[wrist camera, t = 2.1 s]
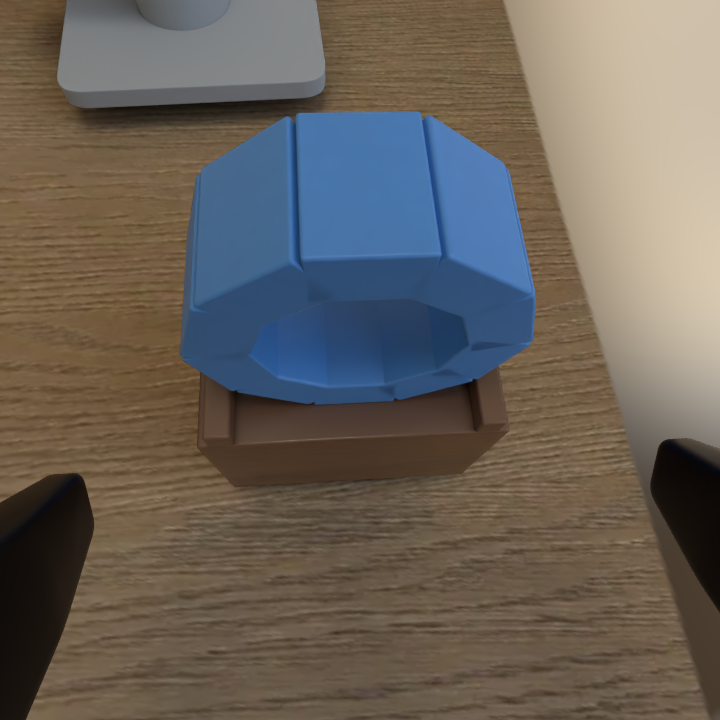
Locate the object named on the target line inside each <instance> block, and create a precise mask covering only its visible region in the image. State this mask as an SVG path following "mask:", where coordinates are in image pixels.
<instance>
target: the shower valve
mask: <svg viewBox="0 0 720 720" xmlns="http://www.w3.org/2000/svg"><path fill="white" fill-rule="evenodd" d="M57 80H58V83H59V85H60V87H61V89H62V91H63V93H64V95H65V97H66V99H67V101H68V102H69V103H70V104H71V105H73V106H76V107H80V108H105V107H126V106H147V105H169V104H190V103H211V102H232V101H253V100H274V99H295V98H308V97H313V96H316V95H318V94H319V93H321V92H322V91H323V89H324V86H325V59H324V52H323V45H322V38H321V32H320V25H319V18H318V11H317V4H316V0H67V3H66V10H65V18H64V26H63V33H62V41H61V48H60V56H59V64H58V71H57Z"/></svg>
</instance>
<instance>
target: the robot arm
mask: <svg viewBox="0 0 720 720" xmlns="http://www.w3.org/2000/svg"><path fill="white" fill-rule="evenodd" d="M650 488H651V494H652V497H653V499H654V501H655V503H656V505H657V507H658V508H659V510H660V512H661V514H662V516H663V518H664V519H665V521H666V523H667V525H668V527H669V529H670V530H671V532H672V534H673V536H674V538H675V539H676V541H677V543H678V545H679V547H680V549H681V551H682V552H683V554H684V556H685V558H686V560H687V561H688V563H689V565H690V567H691V569H692V570H693V572H694V574H695V576H696V577H697V579H698V581H699V582H700V584H701V585H702V587H703V588H704V590H705V592H706V593H707V594H708V596H709V597H710V599H711V601H712V602H713V603H714V605H715V607H716V608H717V610H718V611H719V612H720V449H719V448H716V447H713V446H710V445H707V444H704V443H701V442H699V441H696V440H693V439H688V438H682V439H668V440H665V441H663V442H662V443H661V444H660V445H659V448H658V451H657V456H656V460H655V464H654V469H653V474H652V478H651V483H650ZM93 530H94V518H93V514H92V510H91V506H90V502H89V498H88V494H87V490H86V485H85V482H84V480H83V478H82V476H80V475H79V474H77V473H69V474H53V475H49V476H47V477H45V478H43V479H42V480H40V481H38V482H36V483H35V484H33V485H31V486H29V487H27V488H26V489H24V490H22V491H20V492H18V493H17V494H15V495H13V496H11V497H9V498H8V499H6V500H4V501H2V502H0V720H26V718H27V716H28V713H29V711H30V709H31V706H32V704H33V702H34V699H35V697H36V695H37V692H38V690H39V687H40V685H41V683H42V680H43V678H44V676H45V673H46V671H47V669H48V666H49V664H50V662H51V659H52V657H53V655H54V652H55V650H56V647H57V645H58V643H59V640H60V637H61V635H62V632H63V630H64V627H65V624H66V621H67V618H68V615H69V612H70V609H71V605H72V602H73V599H74V595H75V592H76V589H77V585H78V582H79V579H80V575H81V572H82V569H83V565H84V562H85V559H86V555H87V552H88V549H89V545H90V542H91V539H92V535H93Z"/></svg>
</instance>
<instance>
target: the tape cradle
mask: <svg viewBox="0 0 720 720" xmlns="http://www.w3.org/2000/svg"><path fill="white" fill-rule="evenodd" d="M507 432H509V424H508V418H507V412H506V407H505V401H504V395H503V390H502V384H501V378H500V373H499V367H498V366H497V367H496V368H494V369H493V370H491V371H489V372H488V373H486V374H485V375H483V376H482V377H480V378H479V379H472V381H471V382H467V383H463V384H460V385H456V386H452V387H448V388H444V389H440V390H437V391H433V392H429V393H425V394H421V395H417V396H413V397H410V398H406V399H402V400H398V399H396V398H394V400H393V401H385V402H365V403H345V404H325V405H315V404H314V402H313V403H311V404H304V403H298V402H292V401H286V400H280V399H274V398H268V397H262V396H256V395H250V394H244V393H239V392H237V390H235V391H230V390H229V389H227V388H226V387H224V386H222V385H221V384H219V383H218V382H216V381H215V380H213V379H211V378H210V377H208V376H207V375H205V374H204V373H202V372H200V391H199V414H198V436H197V447H198V449H199V450H200V451H201V452H202V453H203V454H204V455H205V456H206V457H207V458H208V460H209V461H210V462H211V463H212V464H213V465H214V466H215V467H216V468H217V469H218V470H219V471H220V472H221V473H222V474H223V475H224V476H225V477H226V478H227V480H228V481H229V482H230V483H231V484H232V485H233V486H234V487H245V486H262V485H278V484H295V483H312V482H328V481H345V480H361V479H378V478H395V477H411V476H428V475H444V474H461V473H463V472H464V471H465V470H466V469H467V468H468V467H469V466H470V465H472V464H473V463H474V462H475V461H476V460H477V459H478V458H479V457H481V456H482V455H483V454H484V453H485V452H486V451H487V450H488V449H490V448H491V447H492V446H493V445H494V444H495V443H496V442H497V441H499V440H500V439H501V438H502V437H503V436H504V435H505V434H506V433H507Z"/></svg>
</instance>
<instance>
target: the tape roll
mask: <svg viewBox="0 0 720 720" xmlns="http://www.w3.org/2000/svg"><path fill="white" fill-rule="evenodd" d="M295 119H296V123H295V122H294V121H293V120H292V119H291V118H290V117H288V116H287V117H284V118H283V119H281V120H279V121H278V122H276V123H275V124H273V125H271V126H270V127H268V128H267V129H265V130H263V131H262V132H260V133H258V134H257V135H255V136H254V137H252V138H250V139H249V140H247V141H246V142H244V143H242V144H241V145H239V146H237V147H236V148H234V149H233V150H231V151H229V152H228V153H226V154H225V155H223V156H221V157H220V158H218V159H216V160H215V161H213V162H212V163H210V164H208V165H207V166H205V167H204V168H202V170H201V174H200V175H198V176H197V177H196V182H195V189H194V195H193V202H192V209H191V215H190V222H189V229H188V235H187V249H186V265H185V281H184V298H183V314H182V331H181V347H180V355H181V356H182V357H183V361H185V362H186V363H188V364H189V365H191V366H193V367H194V368H196V369H197V370H199V371H200V372H202V373H204V374H205V375H207V376H208V377H210V378H211V379H213V380H215V381H216V382H218V383H219V384H221V385H222V386H224V387H226V388H227V389H229V390H230V391H235V390H237V392H239V393H244V394H250V395H256V396H262V397H268V398H274V399H280V400H286V401H292V402H298V403H304V404H311V403H313V402H314V404H315V405H325V404H345V403H365V402H385V401H393V400H394V398H396V399H398V400H402V399H406V398H410V397H413V396H417V395H421V394H425V393H429V392H433V391H437V390H440V389H444V388H448V387H452V386H456V385H460V384H463V383H467V382H471V381H472V379H479V378H480V377H482V376H483V375H485V374H486V373H488V372H489V371H491V370H493V369H494V368H496V367H497V366H499V365H500V364H502V363H503V362H505V361H506V360H508V359H509V358H511V357H513V356H514V355H516V354H517V353H519V352H520V351H522V350H523V349H525V348H526V347H528V346H529V345H530V342H531V341H533V336H534V317H535V297H536V294H535V290H534V285H533V280H532V276H531V271H530V266H529V262H528V257H527V252H526V248H525V243H524V239H523V234H522V229H521V225H520V220H519V215H518V211H517V206H516V201H515V197H514V192H513V187H512V183H511V178H510V174H509V170H508V169H507V168H505V165H504V163H503V162H502V161H500V160H499V159H497V158H495V157H494V156H492V155H491V154H489V153H488V152H486V151H485V150H483V149H482V148H480V147H478V146H477V145H475V144H474V143H472V142H471V141H469V140H468V139H466V138H465V137H463V136H462V135H460V134H458V133H457V132H455V131H454V130H452V129H451V128H449V127H448V126H446V125H445V124H443V123H441V122H440V121H438V120H437V119H435V118H434V117H432V116H429V115H428V116H426V117H425V118H424V119H423V120H422V116H421V113H420V112H418V111H412V112H338V113H298V114H297V115H296V118H295Z"/></svg>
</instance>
